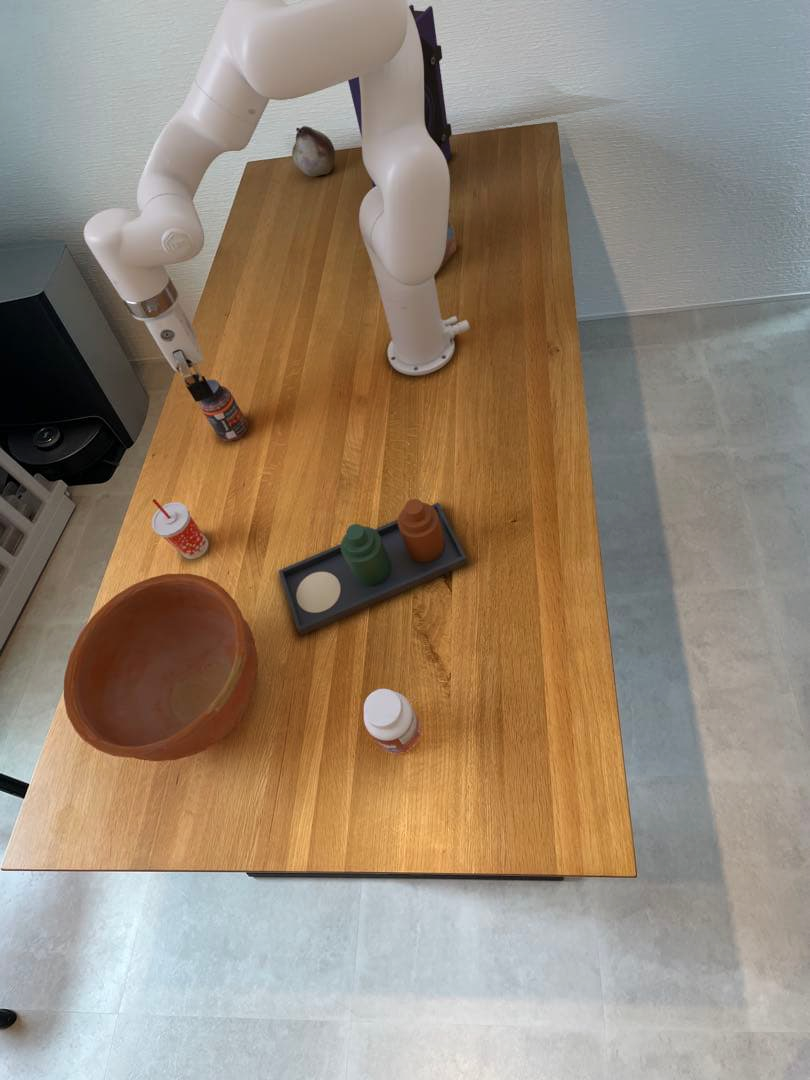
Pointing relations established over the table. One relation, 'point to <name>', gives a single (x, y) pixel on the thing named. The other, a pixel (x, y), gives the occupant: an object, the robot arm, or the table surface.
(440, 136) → the book
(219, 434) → the supplement bottle
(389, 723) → the pill bottle
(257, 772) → the table surface
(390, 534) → the tray
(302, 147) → the fruit
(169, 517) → the beverage cup
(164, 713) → the bowl
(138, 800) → the table surface
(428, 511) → the amber bottle
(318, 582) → the target spot
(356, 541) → the green bottle
